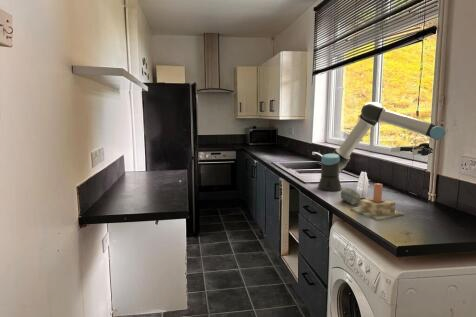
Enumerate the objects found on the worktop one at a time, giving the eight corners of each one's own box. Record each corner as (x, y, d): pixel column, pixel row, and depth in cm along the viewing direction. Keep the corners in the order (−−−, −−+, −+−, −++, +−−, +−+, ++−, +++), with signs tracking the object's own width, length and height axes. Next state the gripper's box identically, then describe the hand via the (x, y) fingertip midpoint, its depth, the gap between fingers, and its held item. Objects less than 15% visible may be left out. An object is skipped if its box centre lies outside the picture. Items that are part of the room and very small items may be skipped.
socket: (350, 210, 171) (351, 199, 170) (375, 205, 179) (376, 195, 178) (377, 220, 155) (378, 208, 154) (403, 215, 162) (404, 203, 161)
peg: (370, 210, 168) (372, 183, 166) (376, 209, 169) (377, 183, 167) (377, 212, 164) (378, 185, 162) (382, 211, 166) (384, 184, 164)
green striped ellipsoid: (334, 194, 192) (344, 180, 188) (348, 200, 194) (357, 187, 190) (341, 205, 179) (352, 191, 176) (355, 212, 181) (366, 198, 178)
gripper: (448, 158, 177) (422, 160, 168) (408, 153, 199) (383, 155, 191) (449, 144, 176) (423, 146, 167) (408, 141, 198) (383, 142, 190)
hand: (401, 151), depth 179 cm, fingers open, 13 cm apart
